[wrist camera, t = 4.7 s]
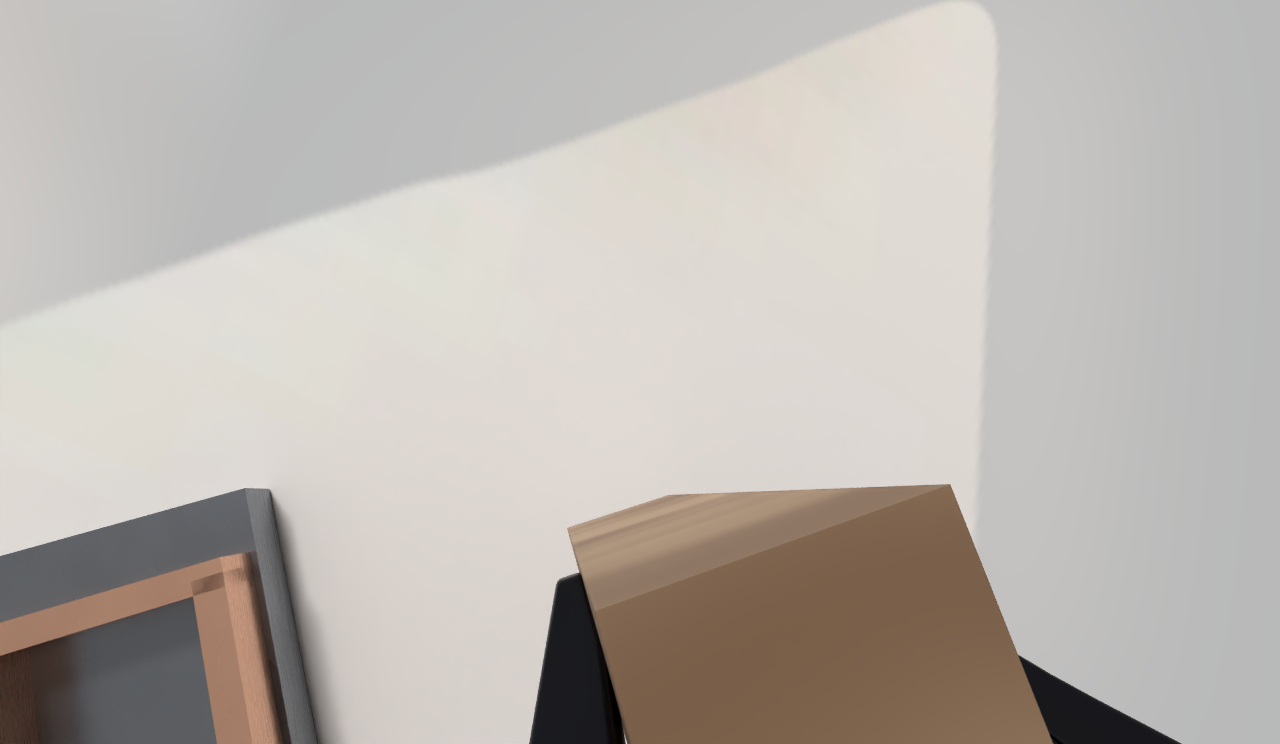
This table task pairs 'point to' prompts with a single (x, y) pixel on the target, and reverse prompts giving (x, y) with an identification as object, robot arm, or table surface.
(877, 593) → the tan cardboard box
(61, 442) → the table surface
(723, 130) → the table surface
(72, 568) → the rail
